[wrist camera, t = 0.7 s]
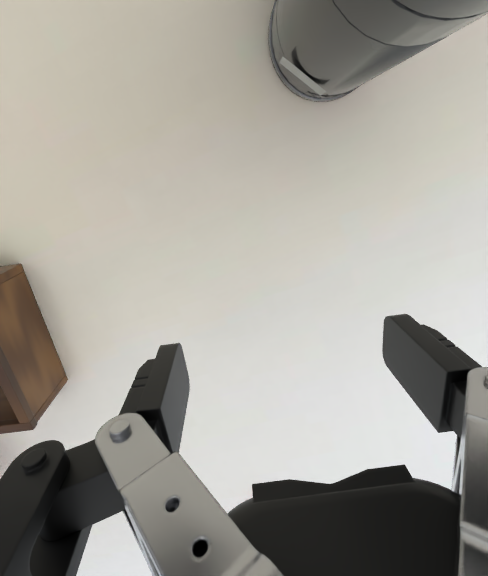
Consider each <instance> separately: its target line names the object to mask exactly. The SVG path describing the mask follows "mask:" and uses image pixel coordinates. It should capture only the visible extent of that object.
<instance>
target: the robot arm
mask: <svg viewBox="0 0 488 576" xmlns="http://www.w3.org/2000/svg"><path fill="white" fill-rule="evenodd" d="M486 14H488V0H276V1H275V3H274V6H273V10H272V13H271V18H270V23H269V34H268V39H269V50H270V55H271V59H272V62H273V65H274V68H275V70H276V72H277V74H278V75H279V77H280V79H281V80H282V81H283V83H284V84H285V85H286V86H287V87H288V88H289V89H290V90H291V91H292V92H294V93H295V94H296V95H298V96H300V97H302V98H304V99H307V100H311V101H317V102H325V101H332V100H335V99H338V98H341V97H343V96H345V95H347V94H348V93H350V92H352V91H353V90H355V89H356V88H357V87H359V86H360V85H362V84H364V83H366V82H367V81H369V80H371V79H373V78H374V77H376V76H378V75H380V74H382V73H383V72H385V71H387V70H389V69H390V68H392V67H394V66H396V65H398V64H399V63H401V62H403V61H405V60H406V59H408V58H410V57H412V56H414V55H415V54H417V53H419V52H421V51H422V50H424V49H426V48H428V47H430V46H431V45H433V44H435V43H437V42H438V41H440V40H442V39H444V38H446V37H447V36H449V35H451V34H452V33H454V32H456V31H458V30H459V29H461V28H463V27H465V26H467V25H468V24H470V23H472V22H474V21H475V20H477V19H479V18H481V17H483V16H484V15H486ZM383 358H384V361H385V364H386V366H387V367H388V368H389V370H390V371H391V372H392V374H393V375H394V376H395V378H396V379H397V380H398V381H399V383H400V384H401V385H402V387H403V388H404V389H405V390H406V392H407V393H408V394H409V396H410V397H411V398H412V399H413V401H414V402H415V403H416V405H417V406H418V407H419V408H420V410H421V411H422V412H423V414H424V415H425V416H426V417H427V419H428V420H429V421H430V423H431V424H432V425H433V426H434V428H435V429H436V430H437V432H438V433H441V432H448V431H454V432H455V433H456V434H457V439H456V445H455V456H454V467H453V478H452V488H451V490H450V489H448V488H445V487H443V486H441V485H438V484H435V483H432V482H429V481H425V480H421V479H416V478H412V476H411V475H410V473H409V471H408V469H407V468H406V466H405V465H398V466H390V467H383V468H375V469H367V470H365V471H362V472H360V473H358V474H355V475H353V476H350V477H348V478H346V479H343V480H341V481H338V482H336V483H333V484H324V483H315V482H307V481H298V480H290V479H289V480H282V481H274V482H266V483H258V484H252V489H253V498H251V499H249V500H246V501H245V502H243V503H241V504H239V505H238V506H236V507H235V508H234V509H232V510H231V511H230V512H229V513H228V514H227V513H226V512H225V511H224V509H223V508H222V507H221V506H220V504H219V503H218V502H217V500H216V499H215V498H214V497H213V495H212V494H211V493H210V492H209V490H208V489H207V488H206V487H205V485H204V484H203V483H202V482H201V480H200V479H199V478H198V477H197V475H196V474H195V473H194V472H193V470H192V469H191V468H190V467H189V465H188V464H187V463H186V462H185V460H184V459H183V458H182V457H181V455H180V454H179V448H180V442H181V437H182V431H183V425H184V419H185V413H186V408H187V402H188V396H189V376H188V371H187V367H186V363H185V358H184V354H183V350H182V346H181V344H180V343H176V344H168V345H161V346H160V347H159V350H158V353H157V355H156V358H155V359H151V360H147V361H146V362H145V363H144V364H143V365H142V366H141V367H140V368H139V370H138V372H137V375H136V377H135V380H134V381H133V384H132V386H131V388H130V391H129V393H128V395H127V397H126V400H125V402H124V404H123V407H122V409H121V411H120V414H119V415H118V416H116V417H114V418H112V419H111V420H109V421H108V422H106V423H105V424H104V425H103V426H102V427H101V428H100V429H99V431H98V432H97V434H96V437H95V440H93V441H90V442H88V443H85V444H82V445H80V446H77V447H74V448H72V449H69V450H66V451H65V448H64V446H63V444H62V443H61V442H59V441H56V440H50V441H45V442H41V443H38V444H36V445H34V446H32V447H30V448H29V449H27V450H25V451H24V452H23V453H21V454H20V455H19V456H18V457H17V458H16V459H15V460H14V461H13V462H12V463H11V464H10V466H9V467H8V469H7V470H6V472H5V473H4V475H3V476H2V478H1V479H0V576H76V574H77V571H78V568H79V564H80V561H81V558H82V555H83V552H84V549H85V546H86V543H87V540H88V537H89V534H90V530H91V527H92V524H95V523H97V522H99V521H101V520H103V519H106V518H108V517H110V516H112V515H114V514H117V513H119V512H121V511H123V513H124V515H125V517H126V519H127V522H128V524H129V526H130V528H131V530H132V532H133V534H134V536H135V539H136V541H137V543H138V545H139V547H140V549H141V551H142V553H143V556H144V558H145V560H146V562H147V564H148V566H149V569H150V571H151V573H152V576H488V367H482V366H481V365H479V364H478V363H477V362H476V361H474V360H473V359H472V358H471V357H469V356H468V355H467V354H466V353H464V352H463V351H462V350H461V349H459V348H458V347H455V345H454V344H453V343H452V342H451V341H450V340H447V338H446V337H445V336H443V335H442V334H441V333H440V332H438V331H437V330H435V329H432V328H430V327H428V326H426V325H420V324H419V323H418V322H416V321H415V320H414V319H413V318H412V317H411V316H409V315H408V314H401V315H394V316H387V317H385V319H384V330H383Z"/></svg>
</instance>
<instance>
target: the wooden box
mask: <svg viewBox="0 0 488 576" xmlns="http://www.w3.org/2000/svg"><path fill="white" fill-rule="evenodd" d="M23 271H24V270H23V268H22V265H21V264H16V265H8V266H0V434H3V433H11V432H19V431H27V430H33V429H34V428H35V427H36V425H37V422H38V420H39V419H40V417H41V416H42V415H43V413H44V412H45V411H46V409H47V408H48V407H49V405H50V404H51V402H52V401H53V400H54V398H55V397H56V396H57V394H58V393H59V391H60V390H61V389H62V387H63V386H64V385H65V383H66V382H67V380H68V379H67V377H66V375H65V372H64V369H63V367H62V364H61V362H60V359H59V357H58V354H57V352H56V349H55V347H54V345H53V342H52V340H51V337H50V335H49V332H48V330H47V327H46V325H45V322H44V320H43V317H42V315H41V312H40V310H39V307H38V305H37V302H36V300H35V298H34V295H33V293H32V290H31V288H30V285H29V283H28V280H27V278H26V275H25V273H24V272H23Z"/></svg>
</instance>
